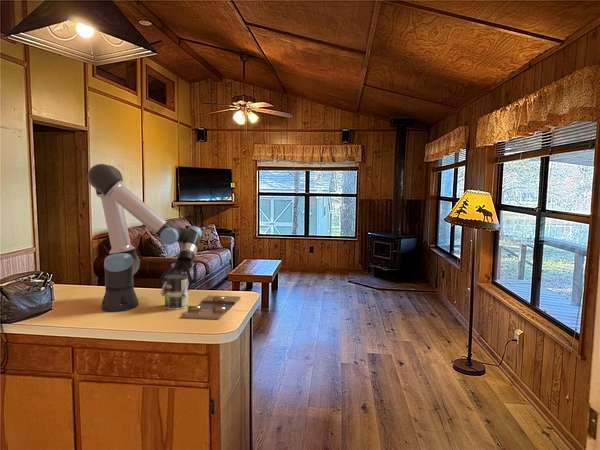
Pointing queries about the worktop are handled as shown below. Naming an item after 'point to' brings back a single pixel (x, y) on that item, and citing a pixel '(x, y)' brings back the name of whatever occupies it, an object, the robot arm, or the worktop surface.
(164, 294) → the robot arm
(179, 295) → the coffee can
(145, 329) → the worktop surface
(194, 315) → the hinge leaves
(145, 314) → the worktop surface
